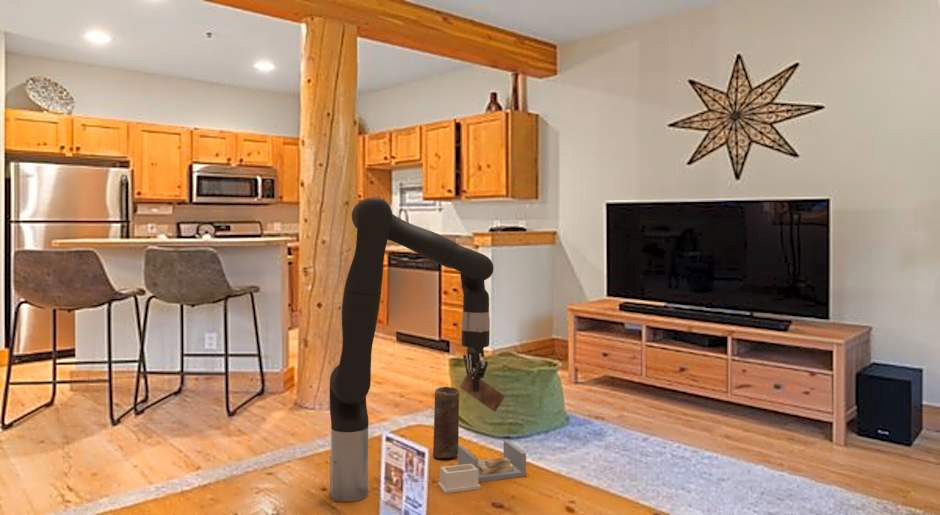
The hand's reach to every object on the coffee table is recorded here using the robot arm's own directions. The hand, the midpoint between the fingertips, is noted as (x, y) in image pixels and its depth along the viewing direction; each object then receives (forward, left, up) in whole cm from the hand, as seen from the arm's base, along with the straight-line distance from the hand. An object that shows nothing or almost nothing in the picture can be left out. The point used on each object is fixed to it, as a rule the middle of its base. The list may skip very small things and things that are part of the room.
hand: (474, 392), depth 175 cm
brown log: (-3, +18, -23) cm, 29 cm away
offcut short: (+6, -2, -20) cm, 21 cm away
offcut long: (+5, -2, -21) cm, 22 cm away
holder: (-7, -6, -23) cm, 24 cm away
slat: (+7, 0, -4) cm, 8 cm away
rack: (+5, +2, -23) cm, 23 cm away
